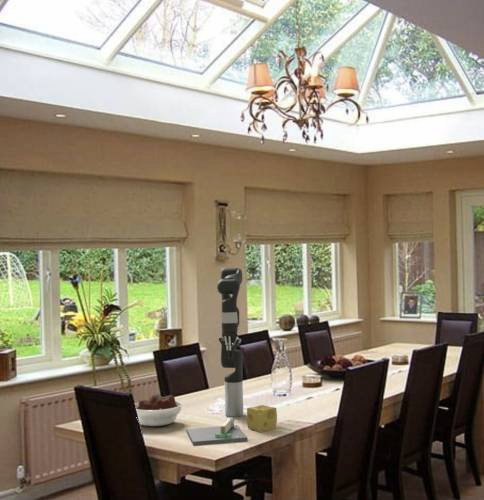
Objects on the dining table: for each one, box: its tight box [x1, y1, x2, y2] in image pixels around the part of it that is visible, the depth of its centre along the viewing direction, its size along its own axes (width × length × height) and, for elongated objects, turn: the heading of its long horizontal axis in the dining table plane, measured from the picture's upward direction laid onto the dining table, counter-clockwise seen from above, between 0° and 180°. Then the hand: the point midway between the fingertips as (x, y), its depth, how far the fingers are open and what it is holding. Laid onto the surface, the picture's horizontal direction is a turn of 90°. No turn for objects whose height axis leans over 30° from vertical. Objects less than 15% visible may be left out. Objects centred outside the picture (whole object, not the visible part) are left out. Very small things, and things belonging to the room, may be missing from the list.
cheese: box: [246, 404, 278, 433], centre depth 337 cm, size 10×11×10 cm
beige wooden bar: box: [221, 417, 235, 434], centre depth 326 cm, size 18×4×4 cm, turn 169°
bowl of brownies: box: [134, 393, 183, 427], centre depth 351 cm, size 25×25×15 cm
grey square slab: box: [185, 424, 249, 446], centre depth 324 cm, size 24×24×3 cm
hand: (230, 358), depth 339 cm, fingers closed
